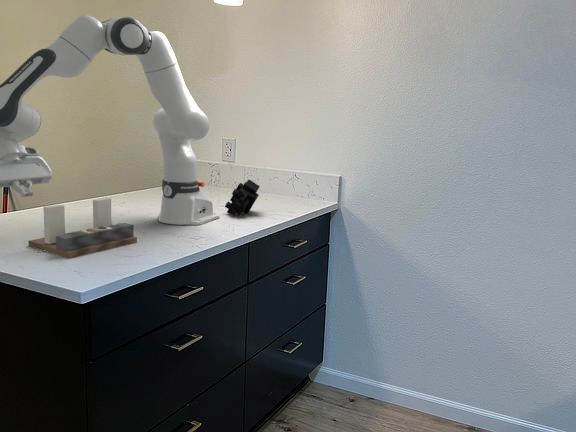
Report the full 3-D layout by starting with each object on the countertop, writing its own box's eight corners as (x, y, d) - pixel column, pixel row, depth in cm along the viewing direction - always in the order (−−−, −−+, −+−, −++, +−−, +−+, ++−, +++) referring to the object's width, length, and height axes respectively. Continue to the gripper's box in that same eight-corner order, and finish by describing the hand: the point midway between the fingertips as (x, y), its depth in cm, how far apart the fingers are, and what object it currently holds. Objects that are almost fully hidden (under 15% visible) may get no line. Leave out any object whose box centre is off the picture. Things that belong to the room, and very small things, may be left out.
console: (97, 232, 178) (96, 214, 177) (137, 242, 168) (137, 224, 167) (28, 245, 159) (27, 226, 158) (69, 258, 150) (68, 237, 148)
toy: (219, 214, 211) (234, 195, 224) (238, 226, 212) (252, 206, 224) (231, 191, 205) (246, 173, 217) (251, 204, 205) (265, 185, 217)
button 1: (59, 239, 161) (58, 204, 159) (65, 240, 159) (64, 205, 157) (43, 242, 157) (42, 206, 155) (49, 244, 155) (47, 207, 153)
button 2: (106, 230, 174) (105, 197, 172) (111, 231, 173) (111, 198, 171) (92, 232, 170) (91, 199, 168) (97, 234, 168) (97, 200, 166)
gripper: (-26, 152, 155) (-4, 192, 152) (42, 149, 172) (63, 185, 168) (-34, 166, 158) (-13, 206, 155) (34, 162, 175) (55, 198, 172)
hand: (28, 195), depth 162 cm, fingers closed
